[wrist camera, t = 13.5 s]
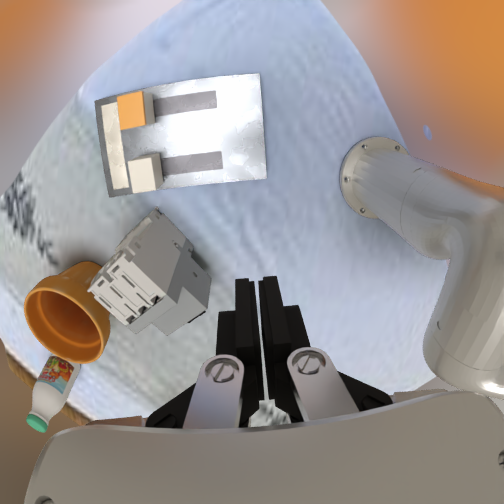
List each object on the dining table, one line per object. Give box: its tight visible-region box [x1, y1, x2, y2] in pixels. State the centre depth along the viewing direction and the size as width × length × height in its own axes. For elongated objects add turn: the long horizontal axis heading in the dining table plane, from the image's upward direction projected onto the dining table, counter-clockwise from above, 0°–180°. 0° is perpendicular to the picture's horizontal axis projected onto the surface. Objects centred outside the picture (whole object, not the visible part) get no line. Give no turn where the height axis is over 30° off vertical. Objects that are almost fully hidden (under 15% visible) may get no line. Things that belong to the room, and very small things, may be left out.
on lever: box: [128, 153, 164, 193], centre depth 35 cm, size 3×4×4 cm
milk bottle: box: [26, 353, 80, 432], centre depth 47 cm, size 8×8×20 cm
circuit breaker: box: [87, 207, 211, 336], centre depth 39 cm, size 8×14×15 cm, turn 38°
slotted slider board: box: [95, 73, 267, 197], centre depth 36 cm, size 22×14×3 cm, turn 94°
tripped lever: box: [117, 91, 155, 130], centre depth 31 cm, size 3×4×5 cm
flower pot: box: [24, 261, 110, 364], centre depth 41 cm, size 14×14×13 cm
